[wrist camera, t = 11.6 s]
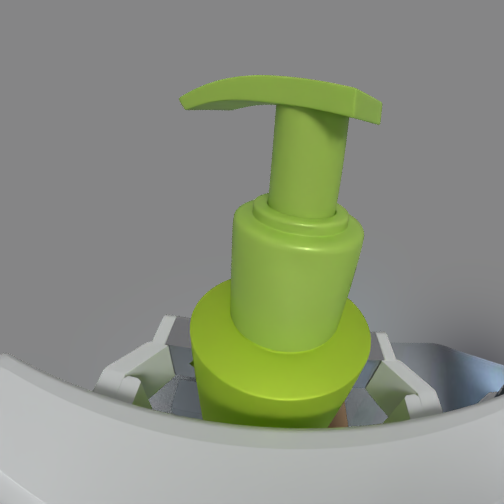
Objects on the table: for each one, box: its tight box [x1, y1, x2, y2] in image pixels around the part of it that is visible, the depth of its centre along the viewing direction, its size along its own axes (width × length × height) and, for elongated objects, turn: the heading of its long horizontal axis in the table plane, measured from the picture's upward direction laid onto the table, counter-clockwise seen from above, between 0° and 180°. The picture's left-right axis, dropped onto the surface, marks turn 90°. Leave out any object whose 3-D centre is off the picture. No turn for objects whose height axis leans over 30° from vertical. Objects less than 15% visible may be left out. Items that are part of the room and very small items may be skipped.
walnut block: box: [327, 402, 348, 428], centre depth 33 cm, size 5×5×5 cm
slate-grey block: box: [171, 379, 203, 420], centre depth 34 cm, size 5×5×5 cm
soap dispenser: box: [179, 75, 382, 428], centre depth 10 cm, size 6×7×20 cm
